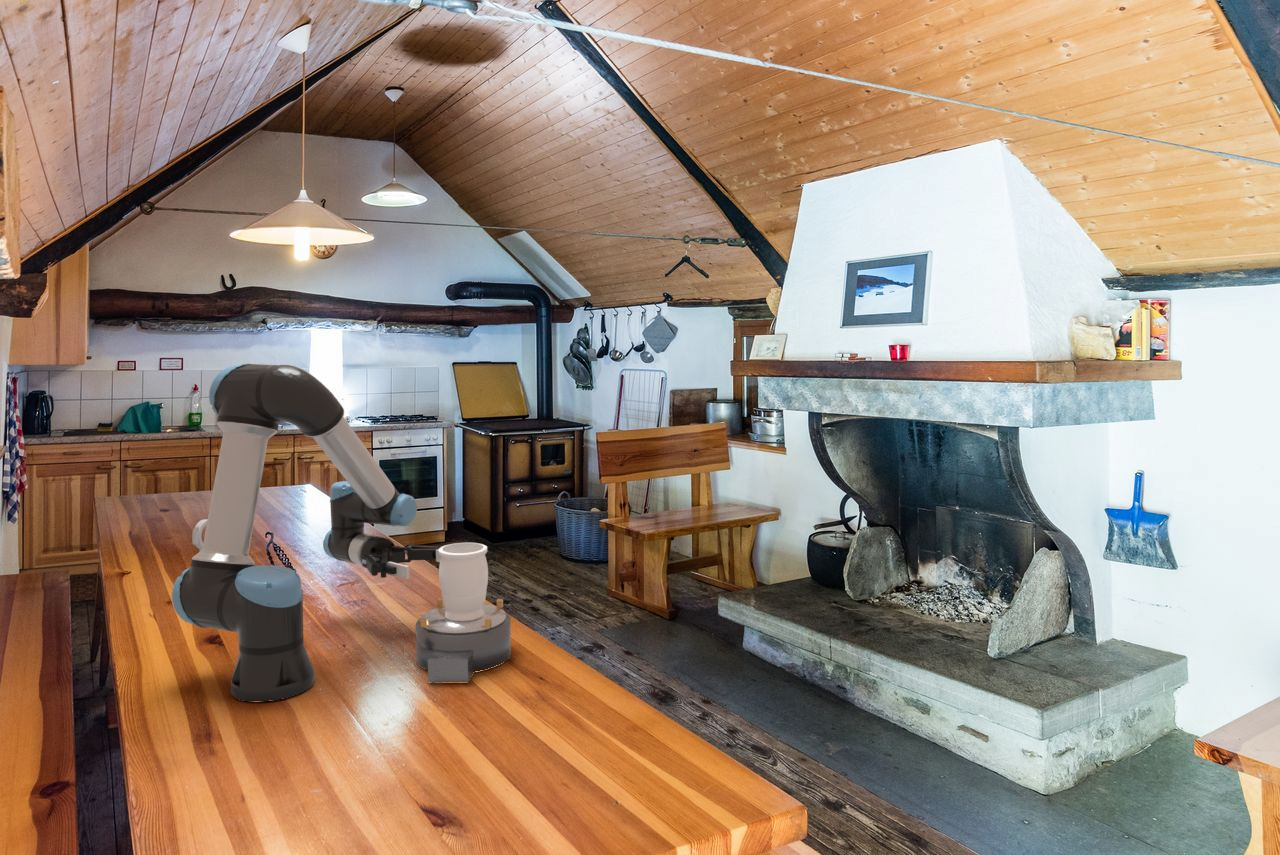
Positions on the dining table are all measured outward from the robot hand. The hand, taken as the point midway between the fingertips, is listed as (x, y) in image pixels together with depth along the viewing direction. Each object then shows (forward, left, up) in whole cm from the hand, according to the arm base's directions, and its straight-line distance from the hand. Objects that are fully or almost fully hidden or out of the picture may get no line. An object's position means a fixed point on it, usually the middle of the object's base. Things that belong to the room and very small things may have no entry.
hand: (433, 566), depth 186 cm
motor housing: (-8, -8, -18) cm, 22 cm away
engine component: (+37, +71, -19) cm, 83 cm away
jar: (-5, -8, -10) cm, 14 cm away
